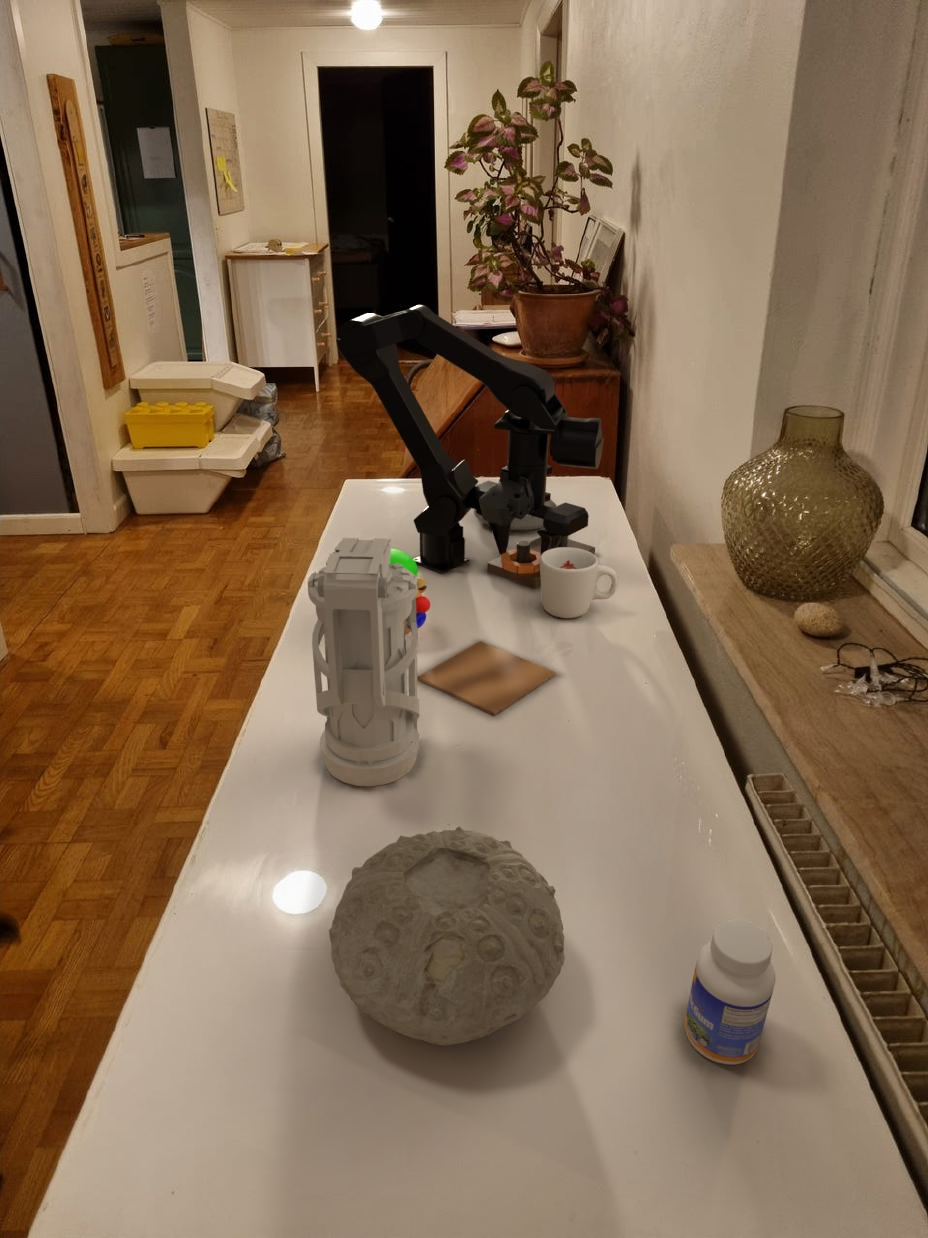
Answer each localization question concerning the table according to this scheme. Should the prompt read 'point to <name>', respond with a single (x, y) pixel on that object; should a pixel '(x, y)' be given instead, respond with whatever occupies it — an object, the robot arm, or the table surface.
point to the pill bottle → (731, 993)
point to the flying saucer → (524, 520)
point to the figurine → (421, 601)
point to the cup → (572, 581)
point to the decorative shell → (447, 936)
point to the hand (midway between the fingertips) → (522, 560)
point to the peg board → (524, 557)
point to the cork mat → (487, 677)
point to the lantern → (366, 663)
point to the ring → (520, 567)
